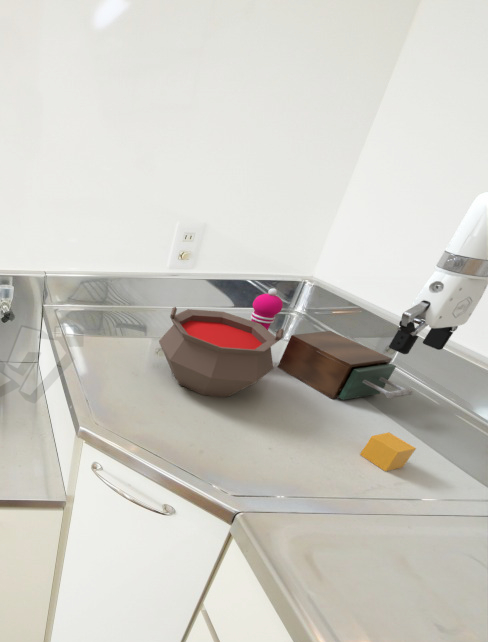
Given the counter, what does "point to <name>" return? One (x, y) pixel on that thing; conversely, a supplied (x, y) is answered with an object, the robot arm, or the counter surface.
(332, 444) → the counter surface
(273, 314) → the pepper mill
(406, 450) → the block
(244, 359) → the brown cooking pot
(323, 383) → the cabinet
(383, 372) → the drawer
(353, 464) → the counter surface
